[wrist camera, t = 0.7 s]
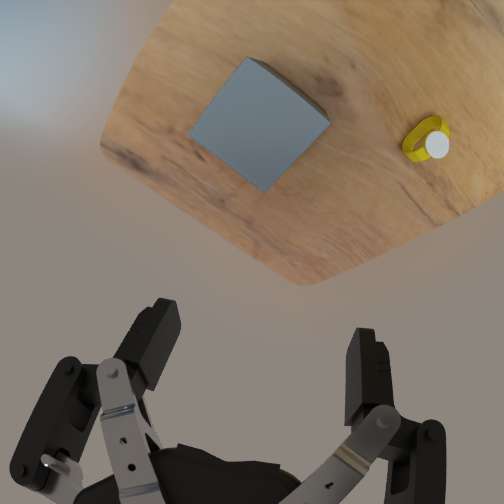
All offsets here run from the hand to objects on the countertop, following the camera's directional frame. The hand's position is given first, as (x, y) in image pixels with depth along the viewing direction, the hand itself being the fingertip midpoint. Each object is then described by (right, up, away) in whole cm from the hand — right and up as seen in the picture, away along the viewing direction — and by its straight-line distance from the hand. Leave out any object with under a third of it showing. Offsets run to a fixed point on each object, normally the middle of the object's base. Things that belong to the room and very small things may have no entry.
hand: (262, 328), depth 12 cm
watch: (+18, +17, +14) cm, 28 cm away
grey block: (+1, +16, +12) cm, 20 cm away
